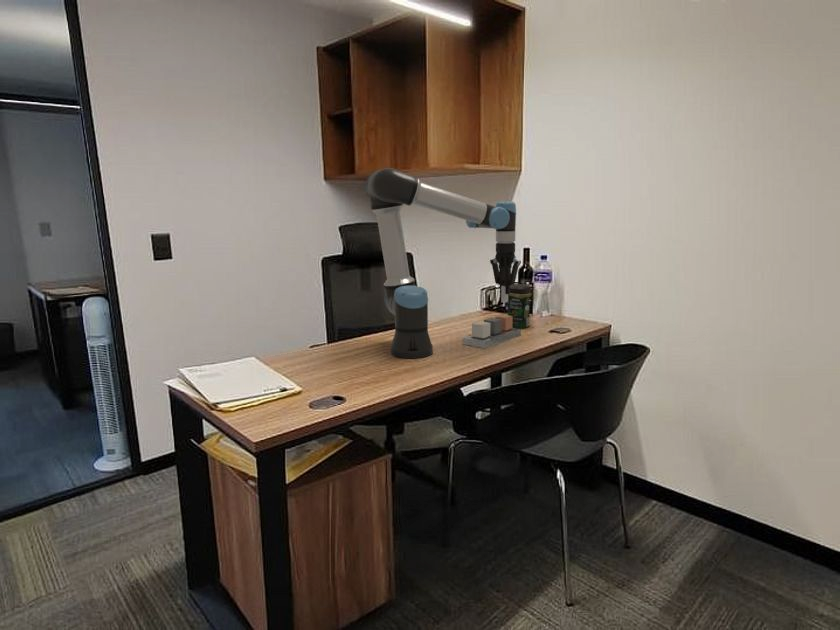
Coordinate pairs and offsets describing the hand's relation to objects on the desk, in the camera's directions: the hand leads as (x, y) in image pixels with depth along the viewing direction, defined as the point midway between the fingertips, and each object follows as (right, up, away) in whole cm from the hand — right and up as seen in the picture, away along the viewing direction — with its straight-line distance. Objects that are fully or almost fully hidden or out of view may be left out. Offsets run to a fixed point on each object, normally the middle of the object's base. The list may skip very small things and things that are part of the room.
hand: (504, 301), depth 206 cm
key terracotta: (0, -11, +2) cm, 11 cm away
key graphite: (-5, -12, -4) cm, 14 cm away
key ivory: (-11, -13, -10) cm, 19 cm away
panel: (-5, -15, -3) cm, 16 cm away
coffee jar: (+9, -10, +19) cm, 23 cm away
